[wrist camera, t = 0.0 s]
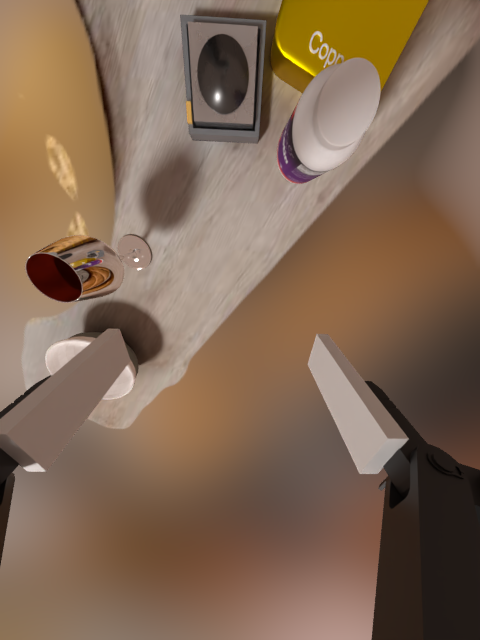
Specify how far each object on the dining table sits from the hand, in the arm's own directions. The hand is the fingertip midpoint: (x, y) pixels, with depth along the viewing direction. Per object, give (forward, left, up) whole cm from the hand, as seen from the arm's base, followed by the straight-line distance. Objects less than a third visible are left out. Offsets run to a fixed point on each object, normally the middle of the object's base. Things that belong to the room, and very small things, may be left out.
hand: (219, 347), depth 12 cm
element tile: (-30, +14, -29) cm, 44 cm away
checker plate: (-23, -1, -27) cm, 35 cm away
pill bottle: (-17, +11, -28) cm, 35 cm away
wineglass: (-1, -19, -28) cm, 34 cm away
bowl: (+24, -31, -28) cm, 48 cm away
